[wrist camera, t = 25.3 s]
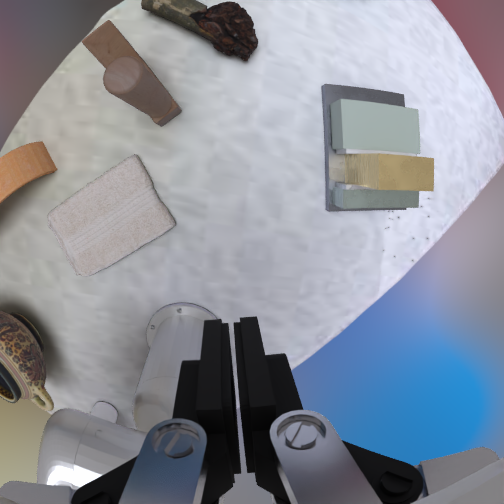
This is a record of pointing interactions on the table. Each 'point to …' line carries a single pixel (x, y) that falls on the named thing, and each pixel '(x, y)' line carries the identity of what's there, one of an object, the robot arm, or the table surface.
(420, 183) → the brass block
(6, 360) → the ceramic bowl
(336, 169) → the vise
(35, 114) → the table surface
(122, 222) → the washcloth
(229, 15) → the brown lumpy club
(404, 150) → the block
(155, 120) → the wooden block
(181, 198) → the table surface
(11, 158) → the arch
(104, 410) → the drinking glass
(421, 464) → the robot arm
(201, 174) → the table surface
